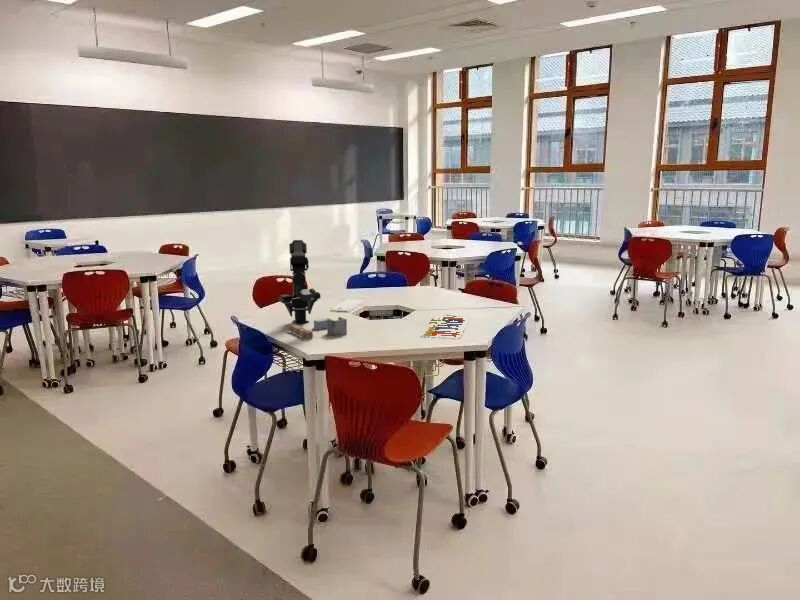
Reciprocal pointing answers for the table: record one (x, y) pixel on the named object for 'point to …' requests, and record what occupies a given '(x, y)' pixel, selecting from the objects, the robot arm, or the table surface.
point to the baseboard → (346, 305)
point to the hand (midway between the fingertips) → (300, 315)
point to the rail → (301, 331)
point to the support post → (320, 323)
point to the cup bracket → (337, 326)
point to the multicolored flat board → (434, 333)
